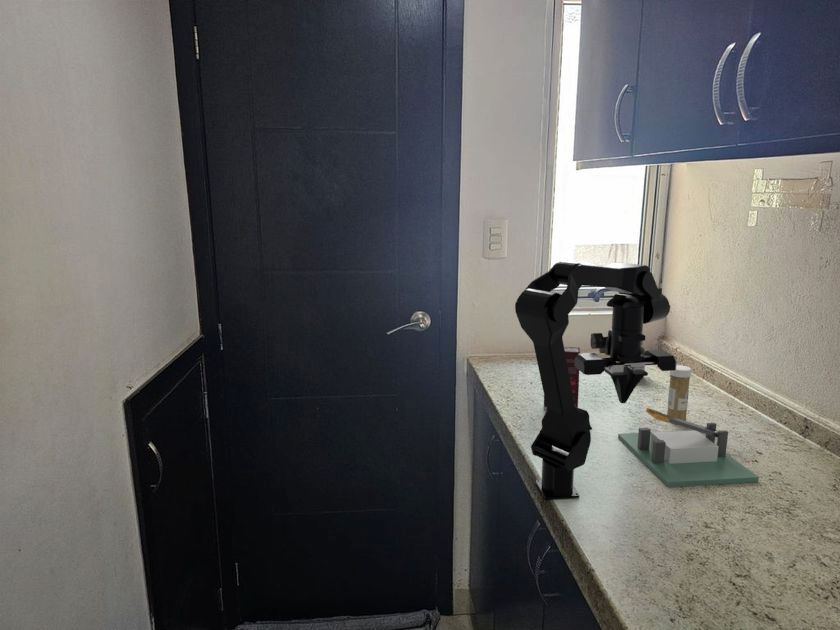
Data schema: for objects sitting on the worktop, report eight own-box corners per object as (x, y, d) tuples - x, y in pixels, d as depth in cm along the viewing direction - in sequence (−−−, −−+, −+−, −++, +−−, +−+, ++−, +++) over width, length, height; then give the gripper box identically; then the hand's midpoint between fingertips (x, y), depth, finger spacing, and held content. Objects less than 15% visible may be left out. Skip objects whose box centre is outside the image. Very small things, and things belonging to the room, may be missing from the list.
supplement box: (577, 406, 148) (580, 347, 145) (577, 413, 144) (580, 352, 140) (543, 403, 150) (545, 345, 147) (542, 410, 146) (544, 350, 142)
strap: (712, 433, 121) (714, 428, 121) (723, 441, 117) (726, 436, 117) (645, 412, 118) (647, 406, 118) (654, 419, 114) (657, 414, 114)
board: (758, 481, 109) (762, 450, 108) (667, 487, 108) (670, 455, 106) (694, 434, 131) (697, 407, 129) (618, 437, 129) (619, 410, 128)
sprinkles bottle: (686, 425, 135) (691, 371, 133) (665, 422, 137) (670, 368, 134) (686, 418, 140) (691, 365, 137) (665, 415, 141) (670, 363, 138)
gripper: (652, 316, 121) (647, 386, 124) (566, 320, 119) (563, 391, 122) (681, 329, 110) (674, 405, 113) (586, 333, 108) (583, 411, 112)
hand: (622, 402), depth 115 cm, fingers closed
